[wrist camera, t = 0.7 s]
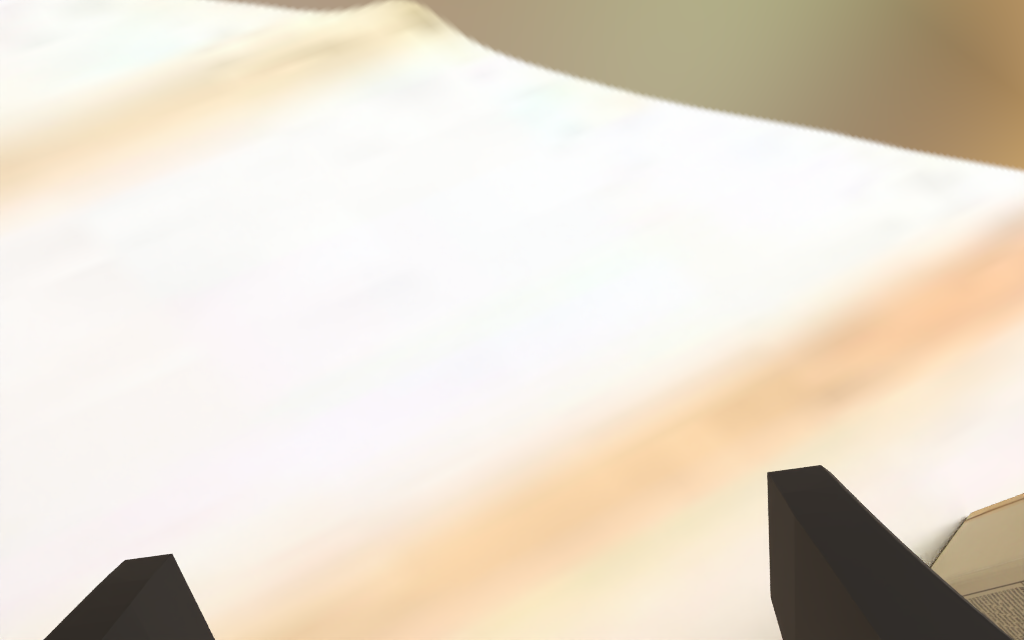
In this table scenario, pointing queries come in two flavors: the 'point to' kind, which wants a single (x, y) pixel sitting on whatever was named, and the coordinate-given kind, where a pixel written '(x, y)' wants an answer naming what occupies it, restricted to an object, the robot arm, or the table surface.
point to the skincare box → (990, 563)
